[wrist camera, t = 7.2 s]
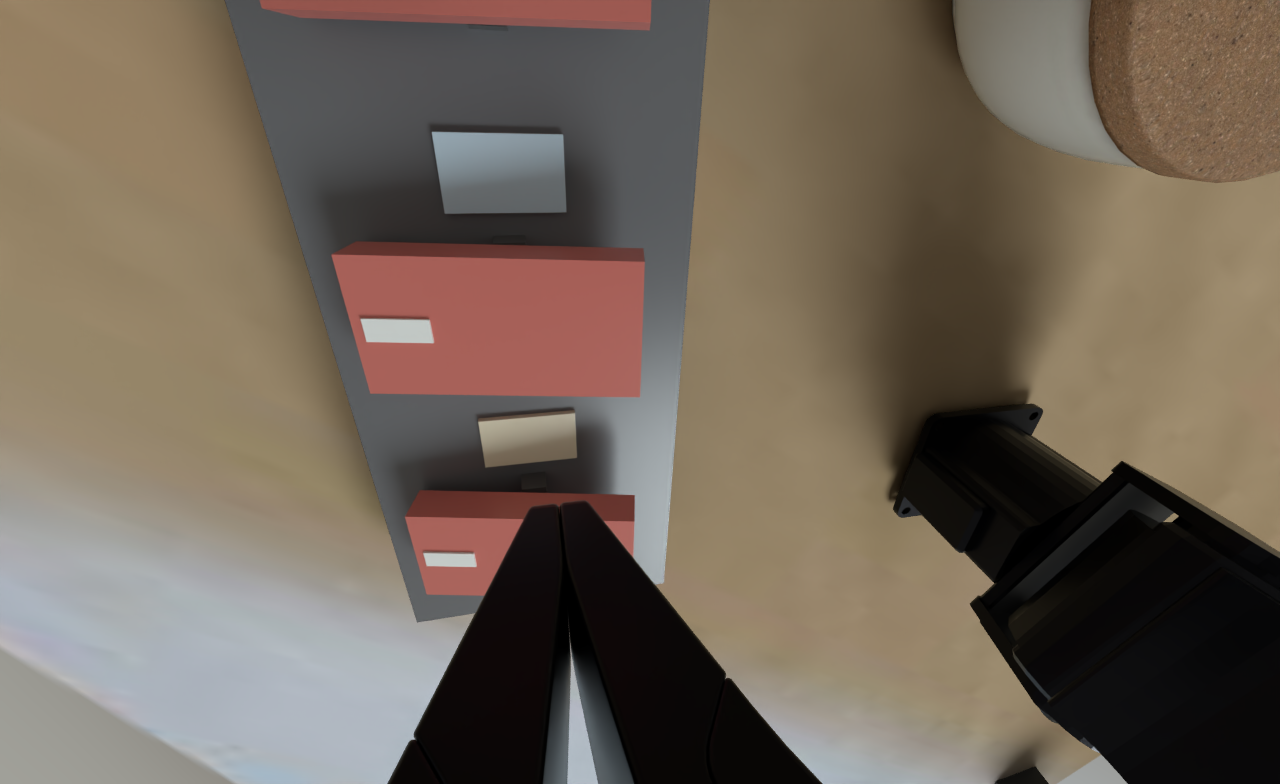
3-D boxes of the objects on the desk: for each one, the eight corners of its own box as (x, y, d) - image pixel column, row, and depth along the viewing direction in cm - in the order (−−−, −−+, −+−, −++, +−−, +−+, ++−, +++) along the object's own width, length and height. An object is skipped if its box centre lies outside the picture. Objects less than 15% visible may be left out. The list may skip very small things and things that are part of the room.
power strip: (686, -306, 11) (764, -491, 8) (642, 603, 28) (661, 680, 24) (180, -406, 10) (-26, -713, 6) (451, 635, 26) (440, 724, 22)
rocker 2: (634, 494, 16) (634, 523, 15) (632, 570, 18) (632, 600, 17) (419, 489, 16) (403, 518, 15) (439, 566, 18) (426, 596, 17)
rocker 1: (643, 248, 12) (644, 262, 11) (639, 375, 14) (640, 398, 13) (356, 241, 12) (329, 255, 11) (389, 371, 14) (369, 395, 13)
